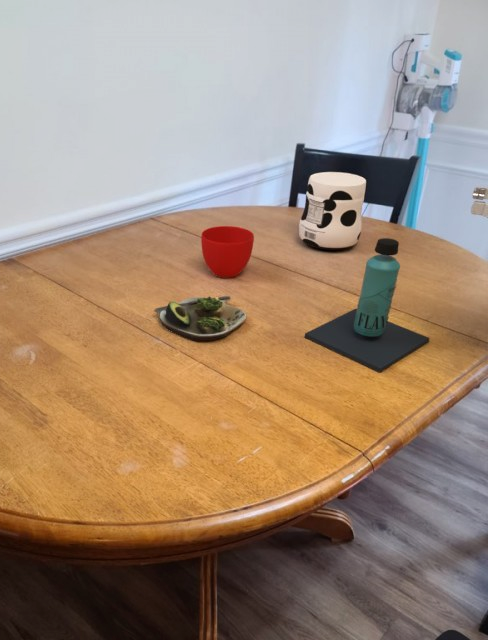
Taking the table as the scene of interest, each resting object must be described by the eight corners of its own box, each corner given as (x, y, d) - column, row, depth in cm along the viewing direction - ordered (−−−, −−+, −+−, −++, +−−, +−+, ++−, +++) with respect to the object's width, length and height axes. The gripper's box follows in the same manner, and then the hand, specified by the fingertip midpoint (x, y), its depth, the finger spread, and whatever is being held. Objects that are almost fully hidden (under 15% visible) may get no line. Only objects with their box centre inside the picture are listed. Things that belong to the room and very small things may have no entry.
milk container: (357, 236, 168) (369, 173, 158) (358, 257, 154) (371, 189, 144) (299, 231, 171) (307, 169, 161) (294, 251, 157) (303, 184, 147)
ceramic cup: (254, 259, 152) (257, 222, 146) (248, 285, 138) (251, 245, 132) (206, 256, 154) (207, 219, 148) (196, 281, 140) (197, 241, 134)
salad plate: (201, 293, 134) (202, 275, 131) (263, 316, 125) (265, 297, 122) (144, 321, 122) (143, 302, 119) (208, 349, 113) (208, 329, 110)
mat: (428, 342, 116) (430, 338, 115) (379, 373, 106) (380, 368, 106) (355, 312, 127) (355, 308, 126) (304, 337, 117) (305, 333, 116)
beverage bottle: (348, 340, 114) (368, 243, 103) (353, 325, 119) (372, 232, 108) (381, 346, 112) (405, 249, 101) (385, 331, 117) (408, 237, 106)
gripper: (563, 250, 85) (464, 236, 89) (552, 213, 100) (469, 202, 105) (580, 208, 81) (477, 196, 86) (566, 176, 97) (479, 167, 101)
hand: (472, 199), depth 95 cm, fingers open, 8 cm apart
